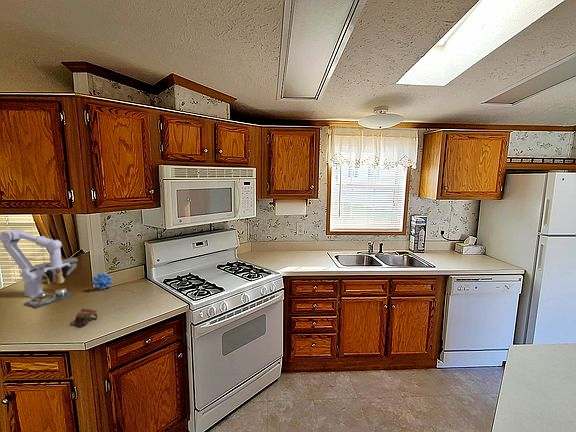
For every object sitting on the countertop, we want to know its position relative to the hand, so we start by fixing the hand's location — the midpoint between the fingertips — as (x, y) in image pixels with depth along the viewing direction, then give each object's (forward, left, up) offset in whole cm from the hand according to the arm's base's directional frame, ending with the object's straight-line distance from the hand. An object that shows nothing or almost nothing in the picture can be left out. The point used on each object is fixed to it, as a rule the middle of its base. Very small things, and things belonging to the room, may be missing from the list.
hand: (58, 279), depth 187 cm
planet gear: (+6, -12, -8) cm, 16 cm away
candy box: (-24, +11, -10) cm, 28 cm away
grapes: (+21, +15, -10) cm, 28 cm away
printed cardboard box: (-40, +21, -10) cm, 47 cm away
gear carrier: (+6, -9, -9) cm, 14 cm away
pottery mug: (+56, -18, -10) cm, 59 cm away
